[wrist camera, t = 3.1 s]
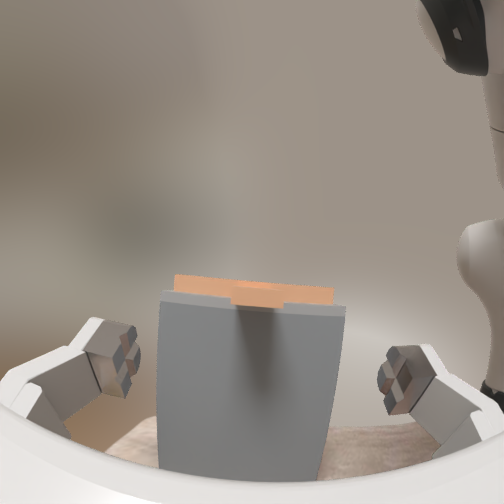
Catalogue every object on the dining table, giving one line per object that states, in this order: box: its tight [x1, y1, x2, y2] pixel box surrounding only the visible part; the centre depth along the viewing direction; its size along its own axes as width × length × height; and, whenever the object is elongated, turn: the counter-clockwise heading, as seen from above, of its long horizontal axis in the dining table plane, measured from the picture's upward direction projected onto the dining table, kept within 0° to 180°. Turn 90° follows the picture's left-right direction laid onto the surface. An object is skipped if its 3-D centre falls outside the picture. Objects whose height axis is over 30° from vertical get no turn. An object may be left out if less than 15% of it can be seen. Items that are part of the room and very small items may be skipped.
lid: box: [174, 274, 334, 309], centre depth 30 cm, size 17×23×2 cm
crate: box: [157, 290, 346, 482], centre depth 33 cm, size 18×16×26 cm
